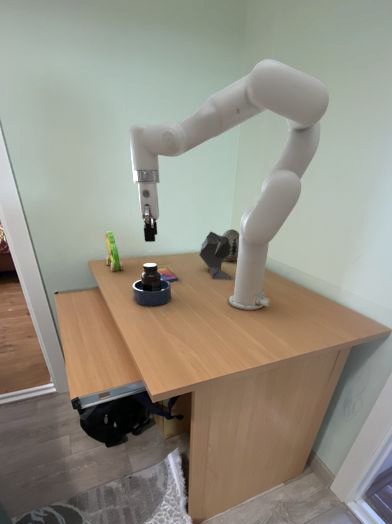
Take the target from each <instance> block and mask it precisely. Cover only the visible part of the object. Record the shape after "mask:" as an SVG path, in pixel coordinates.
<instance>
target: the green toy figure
mask: <svg viewBox="0 0 392 524" xmlns="http://www.w3.org/2000/svg"><path fill="white" fill-rule="evenodd" d="M105 244H106V248H107V252H108V256H106V257H105V261H106V266H110V270H111V272H115V271H117V270H120V271H123V270H124V264H123V262H122V261H120V255H119V251H118V247H117V245H116V241H115V237H114V234H113V232H112V231H105Z"/></svg>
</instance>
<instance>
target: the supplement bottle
mask: <svg viewBox="0 0 392 524" xmlns="http://www.w3.org/2000/svg"><path fill="white" fill-rule="evenodd" d="M142 268H143V269H142V270H143V272H142V273H141V275H140V278H141V279H140V280H142V289H143V291H159V290H162V286H161V274H160V273H159V272H158V271H157V270H158V268H159V267H158V264H157V263H154V262H147V263H146V262H145V263H144V264H143V265H142Z"/></svg>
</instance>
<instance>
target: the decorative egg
mask: <svg viewBox="0 0 392 524" xmlns="http://www.w3.org/2000/svg"><path fill="white" fill-rule="evenodd" d="M239 234H240V232H239V231H238V230H236V229H233V228H232V229H228V230H226V231H225V232H223V234H222V235H221V236H226V237H227V238H228V239H229V242H230V244H231V250H230V251H231V252H230V253H229V255H228V256H227V257H225V258H224V259H223V261H225V262H234V261H236V260H237V259H238V249H239Z"/></svg>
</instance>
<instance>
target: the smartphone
mask: <svg viewBox="0 0 392 524" xmlns="http://www.w3.org/2000/svg"><path fill="white" fill-rule="evenodd" d="M157 268H158V270H157V271H158V272H159V273H160V274H161V279H163V280H166V281H168V282H173V281H174V282H175V281H177V280H178V277H177V276H176V275H175V274H174V273H173V272H172V270H171V269H169V268H168V267H167V266H163V267H157Z"/></svg>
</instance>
